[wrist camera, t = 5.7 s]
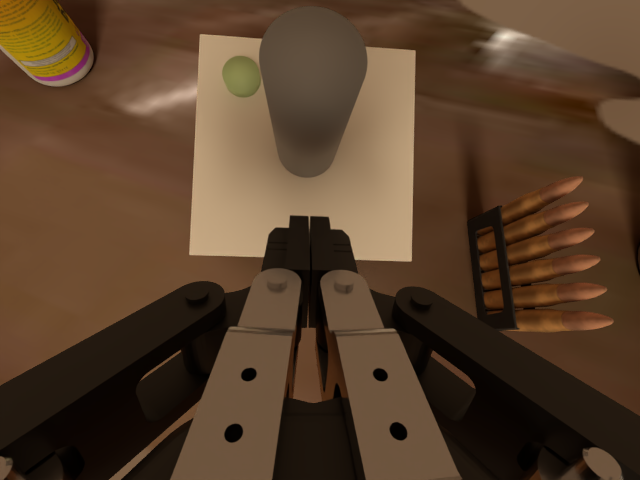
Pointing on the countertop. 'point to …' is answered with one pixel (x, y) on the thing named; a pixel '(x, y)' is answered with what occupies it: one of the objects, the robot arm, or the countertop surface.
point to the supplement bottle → (44, 41)
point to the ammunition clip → (531, 264)
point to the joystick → (303, 137)
